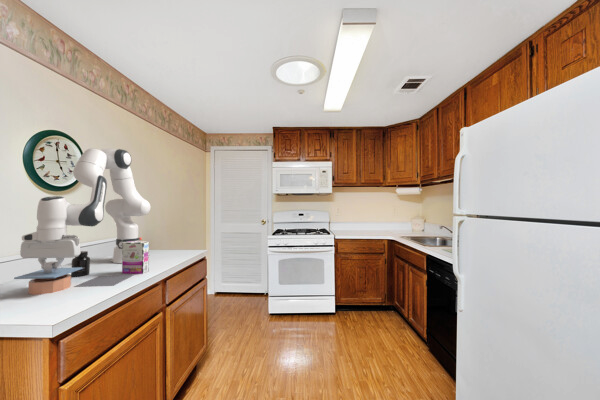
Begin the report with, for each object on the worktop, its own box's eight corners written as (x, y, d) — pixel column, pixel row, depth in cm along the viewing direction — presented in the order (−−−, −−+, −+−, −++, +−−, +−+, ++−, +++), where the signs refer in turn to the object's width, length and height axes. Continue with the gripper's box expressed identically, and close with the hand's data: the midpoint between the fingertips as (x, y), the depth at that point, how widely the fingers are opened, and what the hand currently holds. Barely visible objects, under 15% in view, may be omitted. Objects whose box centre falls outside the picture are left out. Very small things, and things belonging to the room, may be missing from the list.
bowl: (47, 285, 107) (48, 274, 107) (77, 284, 108) (78, 273, 108) (19, 296, 95) (19, 283, 95) (53, 295, 96) (54, 282, 96)
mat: (99, 276, 120) (99, 275, 120) (134, 276, 122) (134, 275, 122) (73, 288, 104) (73, 286, 104) (113, 286, 106) (113, 285, 106)
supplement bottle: (78, 278, 117) (79, 253, 117) (67, 277, 118) (67, 253, 118) (93, 274, 124) (93, 250, 124) (82, 273, 125) (82, 250, 125)
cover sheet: (47, 269, 108) (47, 258, 108) (82, 268, 109) (82, 258, 109) (14, 279, 94) (14, 267, 94) (54, 278, 95) (54, 266, 95)
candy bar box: (149, 272, 129) (149, 241, 129) (142, 274, 124) (143, 242, 124) (128, 271, 129) (129, 240, 129) (121, 274, 124) (121, 242, 124)
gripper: (84, 234, 106) (84, 266, 106) (32, 234, 104) (31, 267, 104) (73, 235, 100) (72, 269, 99) (17, 236, 97) (16, 271, 97)
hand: (51, 268), depth 101 cm, fingers closed on cover sheet, 3 cm apart
